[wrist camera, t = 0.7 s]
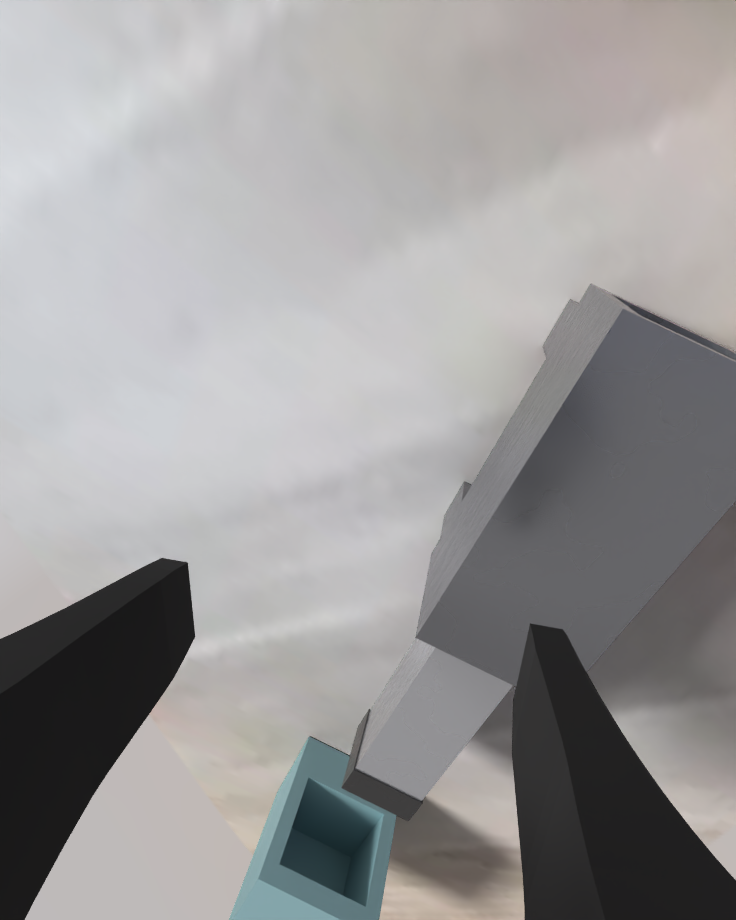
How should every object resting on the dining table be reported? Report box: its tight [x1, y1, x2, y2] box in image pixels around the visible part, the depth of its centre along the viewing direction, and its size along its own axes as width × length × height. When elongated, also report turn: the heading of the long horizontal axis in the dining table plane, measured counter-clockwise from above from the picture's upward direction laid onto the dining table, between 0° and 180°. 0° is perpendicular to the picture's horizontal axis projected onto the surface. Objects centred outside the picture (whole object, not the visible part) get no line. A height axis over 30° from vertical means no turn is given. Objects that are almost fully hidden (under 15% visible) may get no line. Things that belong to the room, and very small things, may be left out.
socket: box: [229, 736, 396, 920], centre depth 25 cm, size 5×5×6 cm
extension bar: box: [341, 638, 513, 821], centre depth 18 cm, size 3×17×3 cm, turn 157°
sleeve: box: [415, 284, 736, 687], centre depth 16 cm, size 4×10×6 cm, turn 157°
